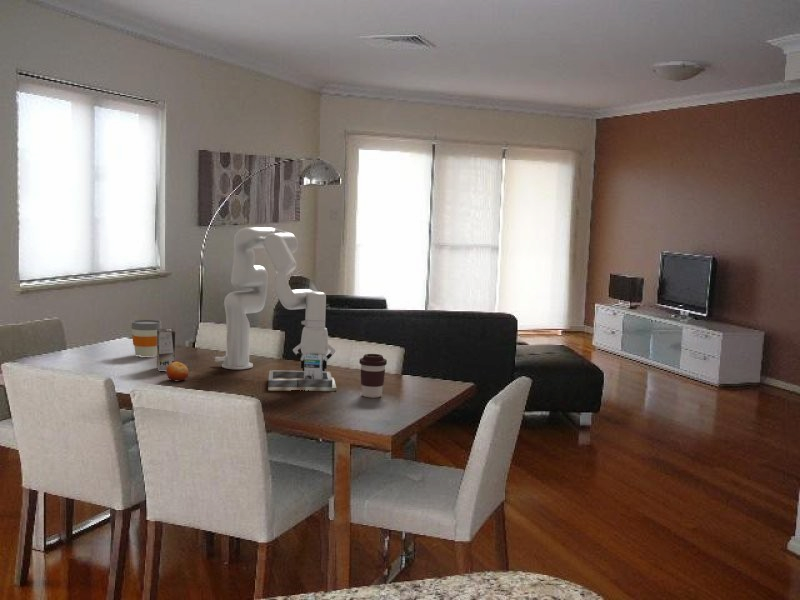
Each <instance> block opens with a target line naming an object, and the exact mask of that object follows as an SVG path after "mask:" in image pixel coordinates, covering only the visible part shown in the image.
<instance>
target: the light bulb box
mask: <svg viewBox="0 0 800 600" xmlns="http://www.w3.org/2000/svg"><path fill="white" fill-rule="evenodd" d="M323 359H324V358H323V356H322V354H305V358H304V360H305V363H304V379H318V380H322V378H323V372H324V371H323Z"/></svg>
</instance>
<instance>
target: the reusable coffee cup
mask: <svg viewBox="0 0 800 600" xmlns="http://www.w3.org/2000/svg"><path fill="white" fill-rule="evenodd" d="M157 329H163V326H162V321H161V320H156V319H138V320H132V321H131V330H132V334H131V338H132V344H133V346H134V353H135V356H136V355H141V356H153V355H157Z"/></svg>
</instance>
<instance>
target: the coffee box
mask: <svg viewBox="0 0 800 600" xmlns="http://www.w3.org/2000/svg"><path fill="white" fill-rule="evenodd" d="M175 349H176V331H175V330H174V328H169V327H168V328H162V329H157V357H156V369H157V368H158V369H157V371H158V370H167V367H168V366H169V364H171V363H173V362H176V361H175V357H176V355H175V353H176V350H175Z"/></svg>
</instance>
